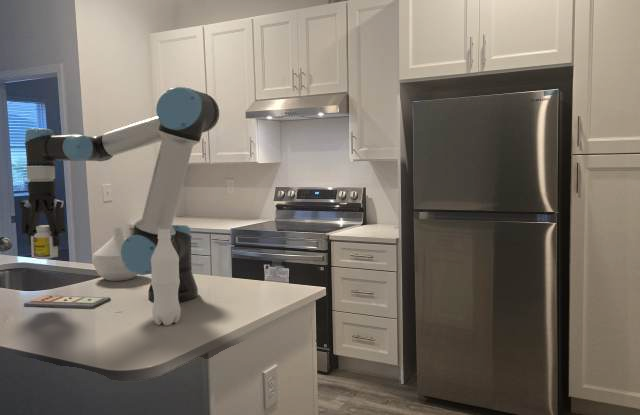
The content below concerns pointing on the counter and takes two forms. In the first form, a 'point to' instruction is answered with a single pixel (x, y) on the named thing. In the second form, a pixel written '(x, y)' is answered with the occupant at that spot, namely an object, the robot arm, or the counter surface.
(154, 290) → the water bottle
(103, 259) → the vase
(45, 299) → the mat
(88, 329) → the counter surface
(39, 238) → the supplement bottle
